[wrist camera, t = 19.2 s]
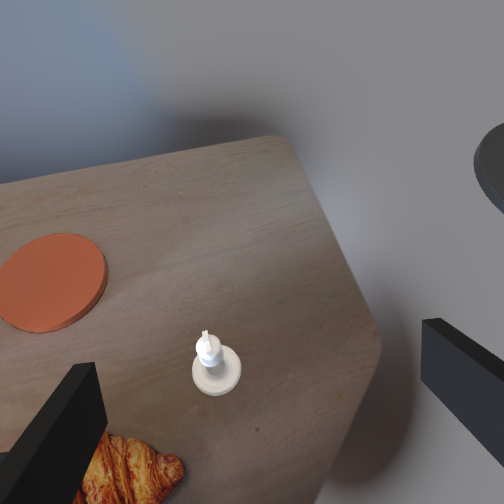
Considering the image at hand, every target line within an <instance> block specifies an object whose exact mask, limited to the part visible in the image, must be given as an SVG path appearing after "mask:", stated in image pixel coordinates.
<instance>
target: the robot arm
mask: <svg viewBox="0 0 504 504" xmlns="http://www.w3.org/2000/svg"><path fill="white" fill-rule="evenodd" d="M421 380H422V381H423V382H424V383H425V385H427V387H428V388H429V389H430V390H431V391H432V392H433V393H434V394H435V395H436V396H437V397H438V398H439V399H440V400H441V401H442V403H443V404H444V405H445V406H446V407H447V408H448V409H449V410H450V411H451V412H452V413H453V414H454V415H455V416H456V417H457V418H458V419H459V421H460V422H461V423H462V424H463V425H464V426H465V427H466V428H467V429H468V430H469V431H470V432H471V433H472V434H473V435H474V436H475V438H476V439H477V440H478V441H479V442H480V443H481V444H482V445H483V446H484V447H485V448H486V449H487V450H488V451H489V452H490V453H491V455H492V456H493V457H494V458H495V459H496V460H497V461H498V462H499V463H500V464H501V465H502V466H503V467H504V361H503V360H501V359H499V358H498V357H497V356H495V355H494V354H492V353H491V352H489V351H488V350H487V349H485V348H484V347H482V346H481V345H479V344H478V343H476V342H475V341H473V340H472V339H470V338H469V337H468V336H466V335H464V334H463V333H462V332H460V331H459V330H457V329H456V328H454V327H453V326H452V325H450V324H449V323H447V322H446V321H444V320H443V319H441V318H434V319H426V320H422V348H421ZM107 424H108V421H107V416H106V412H105V407H104V403H103V398H102V394H101V389H100V385H99V381H98V376H97V372H96V367H95V363H94V362H89V363H81V364H74V365H73V366H72V368H71V369H70V370H69V372H68V373H67V374H66V376H65V377H64V378H63V380H62V381H61V383H60V384H59V385H58V387H57V388H56V389H55V391H54V392H53V393H52V395H51V396H50V397H49V399H48V400H47V401H46V403H45V404H44V405H43V407H42V408H41V409H40V411H39V412H38V413H37V415H36V416H35V417H34V419H33V420H32V421H31V423H30V424H29V426H28V427H27V428H26V430H25V431H24V432H23V434H22V435H21V436H20V438H19V439H18V440H17V442H16V443H15V444H14V446H13V447H12V448H11V450H10V451H9V452H3V453H0V504H72V503H73V501H74V499H75V496H76V494H77V492H78V489H79V487H80V485H81V483H82V480H83V478H84V476H85V474H86V471H87V469H88V467H89V465H90V462H91V460H92V458H93V455H94V453H95V451H96V449H97V446H98V444H99V442H100V440H101V437H102V435H103V433H104V431H105V428H106V426H107Z"/></svg>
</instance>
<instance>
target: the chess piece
mask: <svg viewBox="0 0 504 504" xmlns="http://www.w3.org/2000/svg"><path fill="white" fill-rule="evenodd" d="M202 335H203V336H202V337H201V338H200V339H199V340H198V342H197V344H196V351H197V353H198V355H197V356H196V358H195V360H194V362H193V366H192V376H193V380H194V383H195V384H196V386H197V387H198V388H199V389H200V390H201V391H202V392H203V393H205V394H208V395H212V396H219V395H223V394H226V393H228V392H229V391H231V390H232V389H233V388H234V387H235V386H236V385H237V383H238V381H239V379H240V376H241V363H240V360H239V357H238V356H237V354H236V353H235V352H234V351H233V350H232V349H231V348H229V347H227V346H225V345H221V343H220V340H219V339H218V338H217V337H216V336H214V335H211V334H208V331H207V330H206V331H202Z"/></svg>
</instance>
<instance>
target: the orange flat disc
mask: <svg viewBox="0 0 504 504" xmlns="http://www.w3.org/2000/svg"><path fill="white" fill-rule="evenodd" d="M107 279H108V266H107V262H106V259H105V257H104V255H103V254H102V253H101V251H100V250H99V248H98V247H97V246H96V245H95V244H94V243H93V242H92V241H90V240H89V239H87V238H85V237H82V236H80V235H75V234H68V233H60V234H53V235H48V236H45V237H42V238H39V239H36V240H34V241H32V242H30V243H28V244H26V245H25V246H23V247H22V248H20V249H19V250H18V251H17V252H15V253H14V254H13V255H12V256H11V257H10V258H9V259H8V260H7V261H6V263H5V264H4V265H3V267H2V268H1V270H0V316H1V317H2V318H3V319H4V320H5V321H6V322H8V323H9V324H11V325H13V326H14V327H16V328H18V329H20V330H23V331H27V332H35V333H41V332H50V331H54V330H58V329H61V328H63V327H66V326H68V325H70V324H72V323H74V322H76V321H77V320H79V319H80V318H82V317H83V316H84V315H85V314H87V313H88V312H89V311H90V310H91V309H92V308H93V307H94V305H95V304H96V303H97V302H98V300H99V299H100V297H101V295H102V293H103V291H104V289H105V286H106V283H107Z"/></svg>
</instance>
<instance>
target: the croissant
mask: <svg viewBox="0 0 504 504" xmlns="http://www.w3.org/2000/svg"><path fill="white" fill-rule="evenodd" d="M10 450H11V449H10ZM10 450H9V451H10ZM9 451H7V452H9ZM184 470H185V469H184V466H183V465H182V463H181V460H180V459H179V458H178V457H177V456H176V455H174V454H165V455H163V454H155V451H154V450H153V449H152V448H151V447H150V446H149V445H147V444H145V443H144V442H143V441H141V440H136V439H133V438H132V437H131V438H130V439H128V438H124V437H122V436H116V437H115V436H109V435H108V433H107V432H105V431H104V433H103V435H102V437H101V440H100V442H99V444H98V446H97V449H96V451H95V453H94V455H93V458H92V460H91V462H90V465H89V467H88V469H87V471H86V474H85V476H84V478H83V480H82V483H81V485H80V487H79V489H78V492H77V494H76V496H75V499H74V501H73V503H72V504H161V503H162V502H163V501H164V499H165V498H166V497H167V496H168V495H169V493H170V492H171V491H172V490H173V489H174V488H175V487H177V486H178V485H179V484H180V483H181V482H183V478H184Z"/></svg>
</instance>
